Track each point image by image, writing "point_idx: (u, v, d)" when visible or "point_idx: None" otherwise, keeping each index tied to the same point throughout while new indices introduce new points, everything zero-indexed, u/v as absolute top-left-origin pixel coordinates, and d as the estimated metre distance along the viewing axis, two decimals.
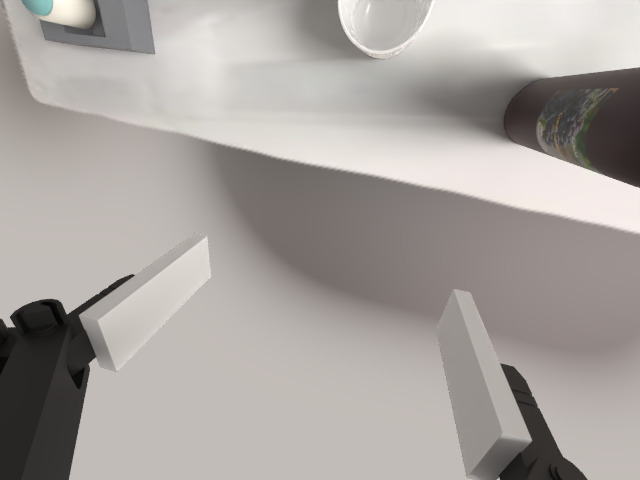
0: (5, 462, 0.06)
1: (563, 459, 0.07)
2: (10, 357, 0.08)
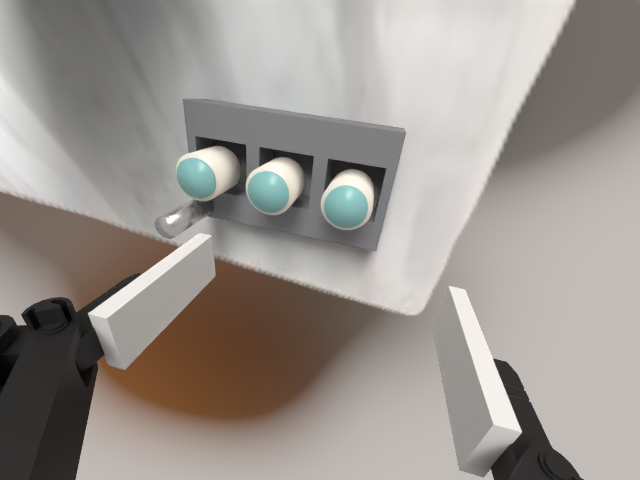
0: (14, 459, 0.06)
1: (551, 450, 0.07)
2: (21, 354, 0.08)
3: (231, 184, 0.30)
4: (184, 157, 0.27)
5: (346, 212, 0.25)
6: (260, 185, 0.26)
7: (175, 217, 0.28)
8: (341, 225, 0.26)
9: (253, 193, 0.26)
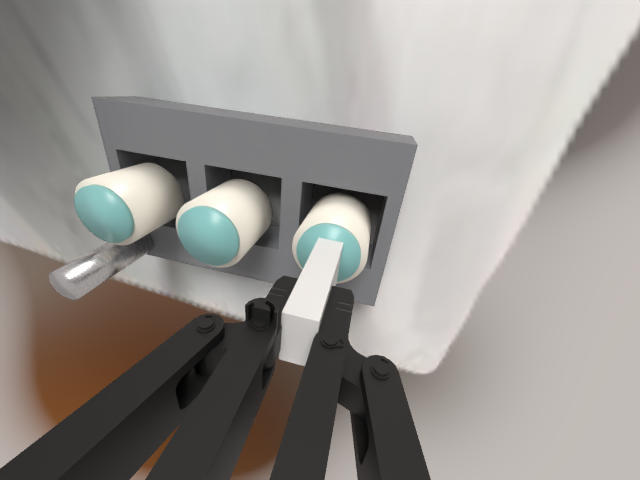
0: (200, 451, 0.07)
1: (328, 330, 0.10)
2: (234, 340, 0.09)
3: (166, 218, 0.21)
4: (83, 184, 0.18)
5: None
6: (195, 227, 0.17)
7: (79, 269, 0.19)
8: None
9: (186, 238, 0.17)
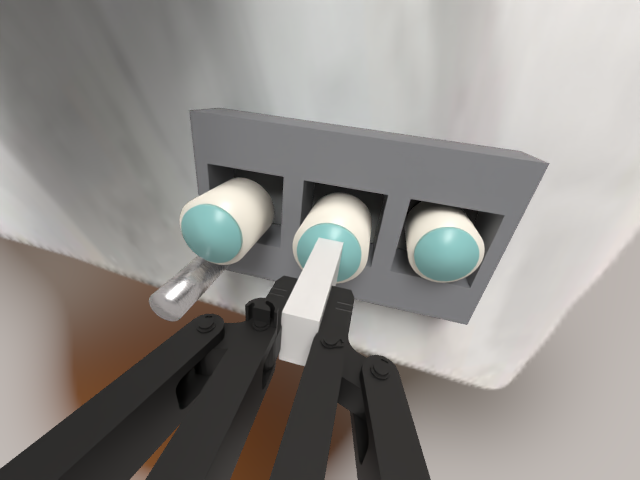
0: (200, 451, 0.07)
1: (328, 330, 0.10)
2: (234, 340, 0.09)
3: (261, 235, 0.20)
4: (193, 203, 0.17)
5: (446, 262, 0.19)
6: None
7: (180, 290, 0.19)
8: (436, 277, 0.19)
9: (305, 254, 0.17)
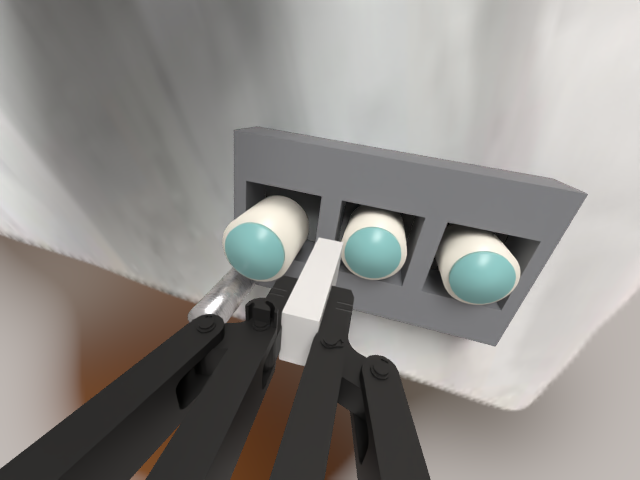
0: (200, 451, 0.07)
1: (328, 330, 0.10)
2: (234, 340, 0.09)
3: None
4: (239, 221, 0.17)
5: (481, 285, 0.19)
6: (364, 244, 0.20)
7: (219, 305, 0.19)
8: (470, 300, 0.20)
9: (352, 253, 0.20)
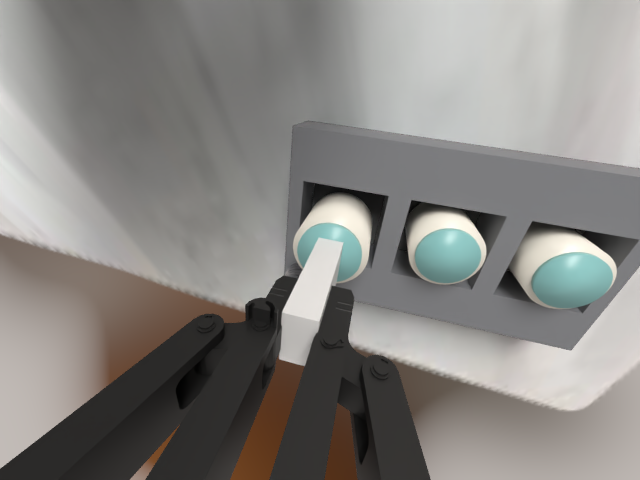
0: (200, 451, 0.07)
1: (328, 330, 0.10)
2: (234, 340, 0.09)
3: None
4: (314, 221, 0.17)
5: (571, 288, 0.17)
6: (439, 248, 0.18)
7: None
8: (555, 304, 0.18)
9: (423, 257, 0.19)
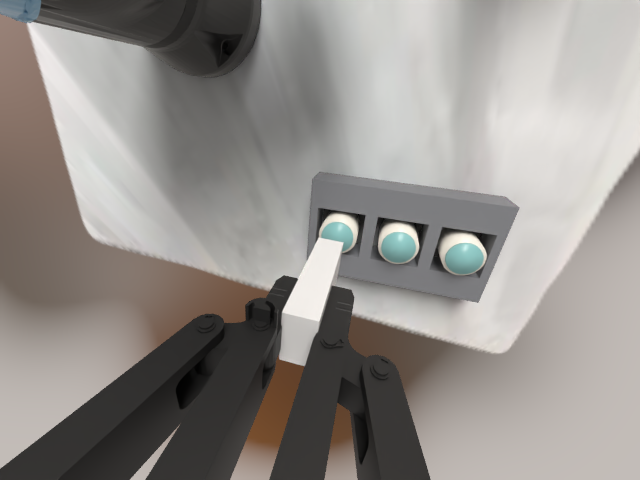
0: (200, 451, 0.07)
1: (328, 330, 0.10)
2: (234, 340, 0.09)
3: None
4: (329, 221, 0.34)
5: (464, 262, 0.32)
6: (393, 242, 0.33)
7: None
8: (458, 272, 0.33)
9: (385, 248, 0.34)
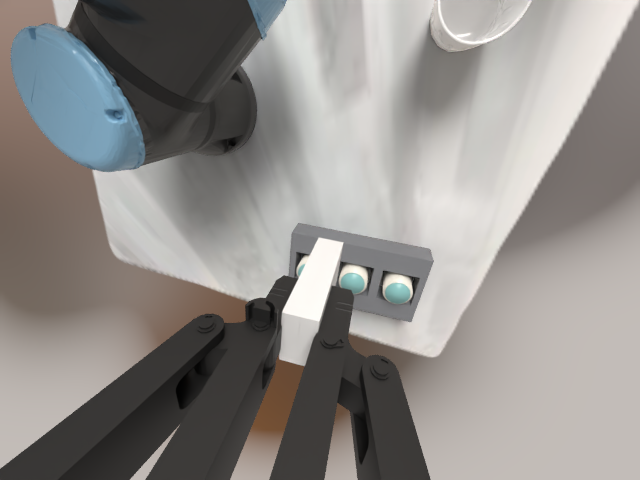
0: (200, 451, 0.07)
1: (328, 330, 0.10)
2: (234, 340, 0.09)
3: None
4: (304, 262, 0.47)
5: (397, 296, 0.45)
6: (348, 280, 0.46)
7: None
8: (394, 302, 0.46)
9: (343, 283, 0.47)
